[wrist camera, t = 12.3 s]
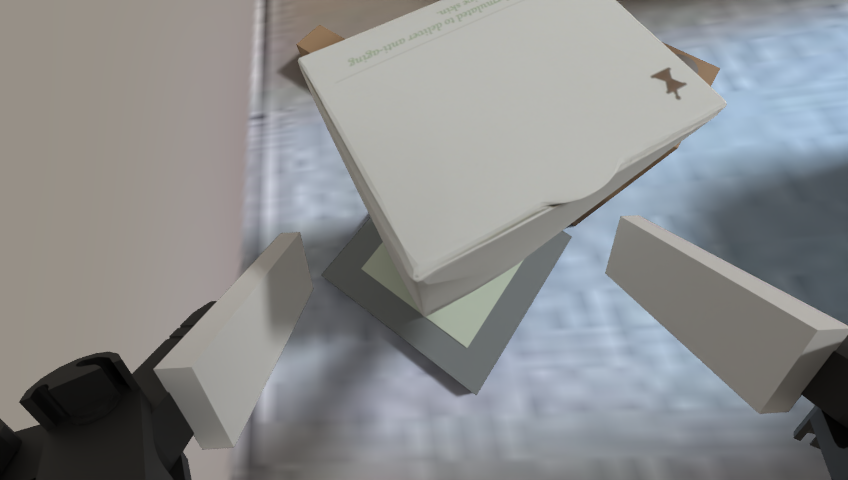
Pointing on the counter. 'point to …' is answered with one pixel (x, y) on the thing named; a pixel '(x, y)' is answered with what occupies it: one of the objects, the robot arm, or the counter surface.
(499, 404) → the counter surface
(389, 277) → the pad
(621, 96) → the skincare box
